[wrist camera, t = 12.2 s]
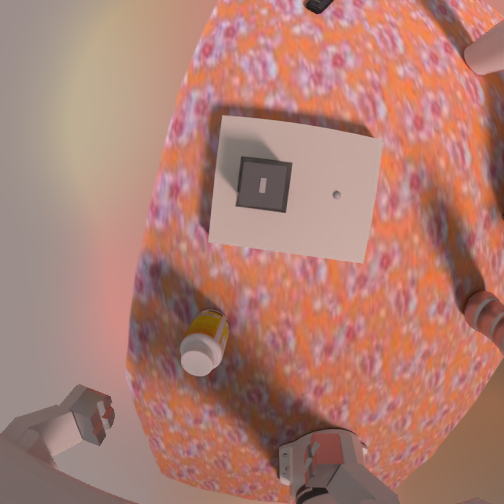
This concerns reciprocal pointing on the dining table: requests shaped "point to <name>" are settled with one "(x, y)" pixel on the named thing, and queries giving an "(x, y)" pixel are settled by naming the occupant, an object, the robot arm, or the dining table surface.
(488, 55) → the drinking glass
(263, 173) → the block
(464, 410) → the dining table surface
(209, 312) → the supplement bottle
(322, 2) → the usb stick
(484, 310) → the plastic bottle
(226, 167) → the outlet plate
